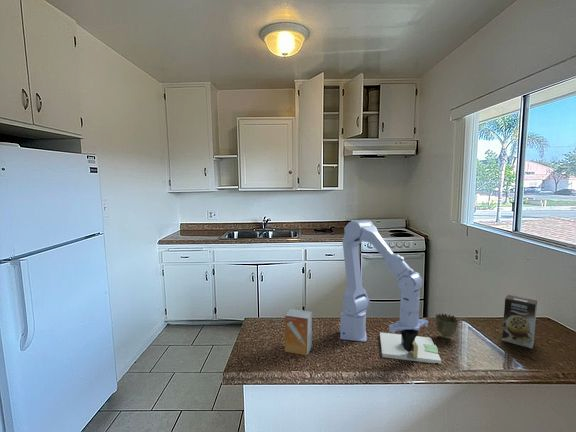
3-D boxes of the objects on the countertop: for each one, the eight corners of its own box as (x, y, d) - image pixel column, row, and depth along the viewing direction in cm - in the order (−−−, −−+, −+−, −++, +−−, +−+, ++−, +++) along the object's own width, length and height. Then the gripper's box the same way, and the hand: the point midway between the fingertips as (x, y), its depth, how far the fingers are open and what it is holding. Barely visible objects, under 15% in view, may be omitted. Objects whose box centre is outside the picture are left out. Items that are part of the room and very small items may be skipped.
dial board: (382, 359, 103) (382, 355, 102) (379, 335, 120) (379, 331, 119) (444, 367, 98) (444, 362, 98) (432, 341, 115) (432, 337, 115)
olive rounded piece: (459, 343, 113) (460, 322, 113) (437, 341, 115) (438, 320, 114) (453, 334, 121) (454, 314, 120) (432, 332, 122) (433, 312, 122)
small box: (284, 352, 107) (284, 315, 106) (289, 343, 113) (290, 308, 112) (307, 356, 104) (307, 318, 103) (311, 347, 110) (312, 311, 109)
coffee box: (501, 340, 116) (504, 298, 114) (504, 334, 120) (507, 293, 119) (532, 349, 109) (535, 304, 108) (534, 342, 114) (537, 299, 113)
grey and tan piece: (399, 341, 112) (400, 330, 112) (412, 341, 111) (413, 330, 111) (408, 357, 101) (408, 345, 101) (422, 358, 100) (423, 346, 100)
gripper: (400, 317, 96) (398, 360, 97) (436, 311, 101) (434, 351, 102) (385, 309, 103) (383, 349, 104) (419, 303, 108) (417, 341, 109)
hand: (407, 349), depth 104 cm, fingers closed, pressing on grey and tan piece
